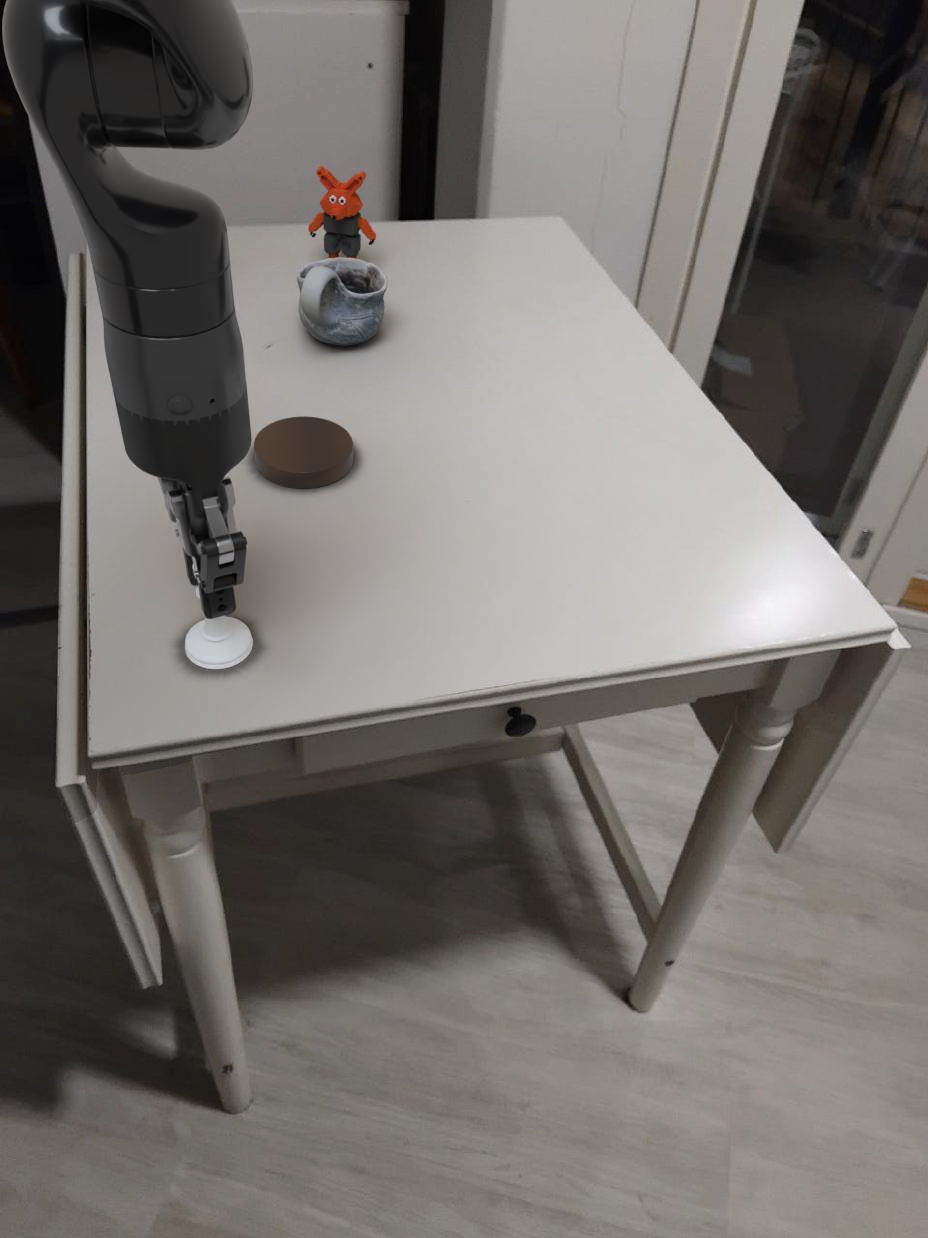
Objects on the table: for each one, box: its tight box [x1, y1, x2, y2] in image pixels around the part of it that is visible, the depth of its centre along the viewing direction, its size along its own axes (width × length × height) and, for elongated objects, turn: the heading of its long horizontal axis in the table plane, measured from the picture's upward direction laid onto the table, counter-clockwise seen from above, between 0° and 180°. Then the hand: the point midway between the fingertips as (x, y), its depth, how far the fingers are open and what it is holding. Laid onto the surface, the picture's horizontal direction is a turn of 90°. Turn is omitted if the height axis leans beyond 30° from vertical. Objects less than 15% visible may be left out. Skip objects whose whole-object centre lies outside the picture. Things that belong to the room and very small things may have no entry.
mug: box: [296, 256, 388, 347], centre depth 100 cm, size 10×12×10 cm
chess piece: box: [184, 565, 254, 670], centre depth 67 cm, size 5×5×10 cm
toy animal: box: [307, 165, 377, 259], centre depth 111 cm, size 8×6×12 cm
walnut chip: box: [253, 415, 354, 490], centre depth 87 cm, size 9×9×2 cm
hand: (211, 595), depth 67 cm, fingers open, 3 cm apart
